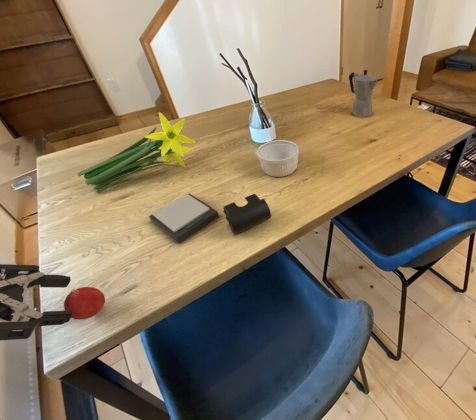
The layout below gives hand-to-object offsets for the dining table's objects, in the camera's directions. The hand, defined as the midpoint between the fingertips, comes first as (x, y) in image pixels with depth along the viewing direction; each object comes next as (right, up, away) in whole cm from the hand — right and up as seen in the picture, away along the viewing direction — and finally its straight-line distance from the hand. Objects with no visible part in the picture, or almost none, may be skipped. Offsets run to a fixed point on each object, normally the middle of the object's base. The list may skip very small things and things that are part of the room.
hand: (69, 298), depth 50 cm
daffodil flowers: (-11, +27, +39) cm, 48 cm away
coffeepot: (+63, +60, +75) cm, 114 cm away
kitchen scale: (+9, +14, +24) cm, 29 cm away
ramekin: (+32, +30, +42) cm, 61 cm away
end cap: (+27, +12, +23) cm, 37 cm away
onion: (+1, -5, +5) cm, 7 cm away
